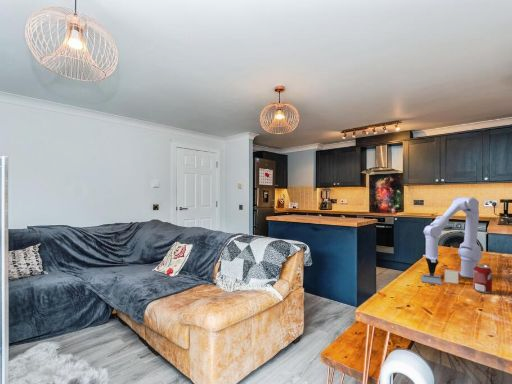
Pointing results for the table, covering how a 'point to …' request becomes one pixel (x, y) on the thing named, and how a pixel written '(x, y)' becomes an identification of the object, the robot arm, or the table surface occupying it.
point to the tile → (451, 276)
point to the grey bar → (432, 276)
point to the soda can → (482, 279)
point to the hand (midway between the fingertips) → (431, 272)
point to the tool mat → (431, 280)
